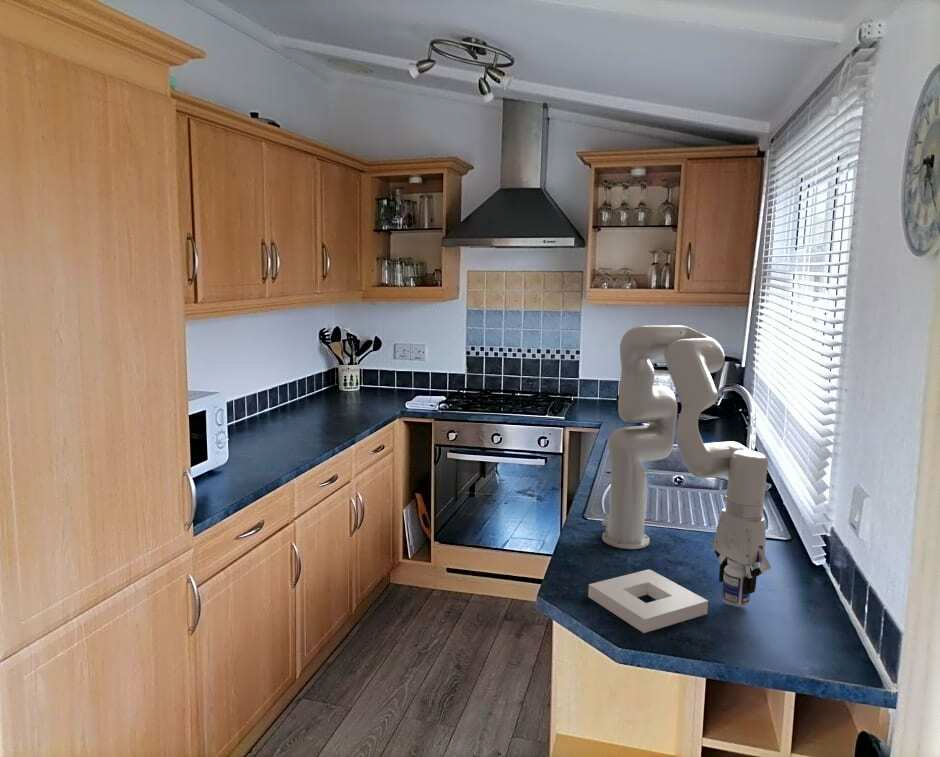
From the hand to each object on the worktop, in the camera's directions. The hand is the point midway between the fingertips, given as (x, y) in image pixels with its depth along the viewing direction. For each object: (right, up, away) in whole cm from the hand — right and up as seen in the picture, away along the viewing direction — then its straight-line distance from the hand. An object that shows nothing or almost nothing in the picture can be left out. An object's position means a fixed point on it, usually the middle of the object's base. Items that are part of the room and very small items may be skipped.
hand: (736, 586), depth 155 cm
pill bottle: (0, -4, +1) cm, 4 cm away
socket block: (-20, -4, +1) cm, 20 cm away
